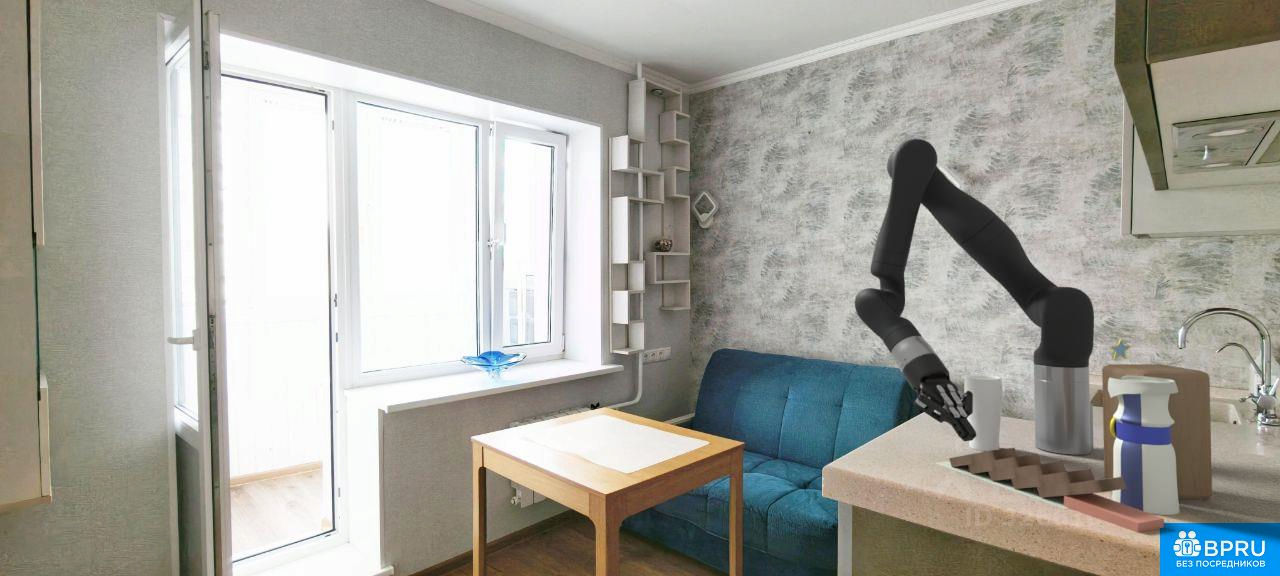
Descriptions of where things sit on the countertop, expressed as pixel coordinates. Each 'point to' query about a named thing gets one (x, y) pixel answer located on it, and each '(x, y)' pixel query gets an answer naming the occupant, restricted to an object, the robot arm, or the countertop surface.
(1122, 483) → the domino
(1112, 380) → the white and blue jug
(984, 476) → the mat
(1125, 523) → the domino
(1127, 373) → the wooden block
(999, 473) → the domino
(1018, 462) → the domino
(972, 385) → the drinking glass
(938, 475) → the countertop surface
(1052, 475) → the domino
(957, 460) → the domino
